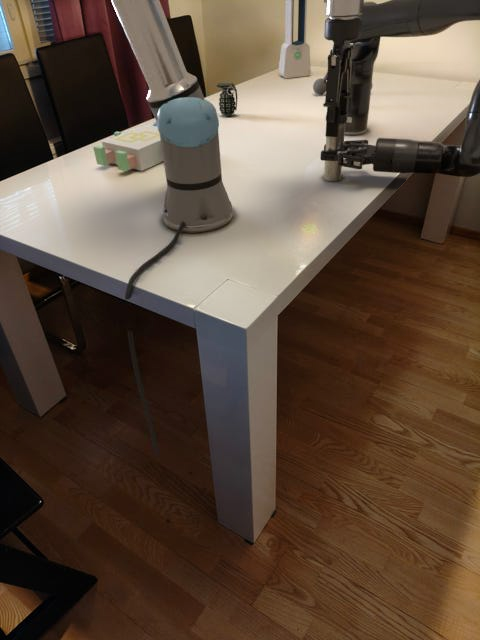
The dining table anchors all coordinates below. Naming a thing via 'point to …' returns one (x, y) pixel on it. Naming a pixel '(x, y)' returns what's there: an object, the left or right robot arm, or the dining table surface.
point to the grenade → (227, 99)
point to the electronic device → (295, 44)
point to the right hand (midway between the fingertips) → (322, 151)
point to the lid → (342, 117)
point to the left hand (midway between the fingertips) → (335, 131)
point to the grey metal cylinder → (334, 144)
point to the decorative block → (132, 149)
